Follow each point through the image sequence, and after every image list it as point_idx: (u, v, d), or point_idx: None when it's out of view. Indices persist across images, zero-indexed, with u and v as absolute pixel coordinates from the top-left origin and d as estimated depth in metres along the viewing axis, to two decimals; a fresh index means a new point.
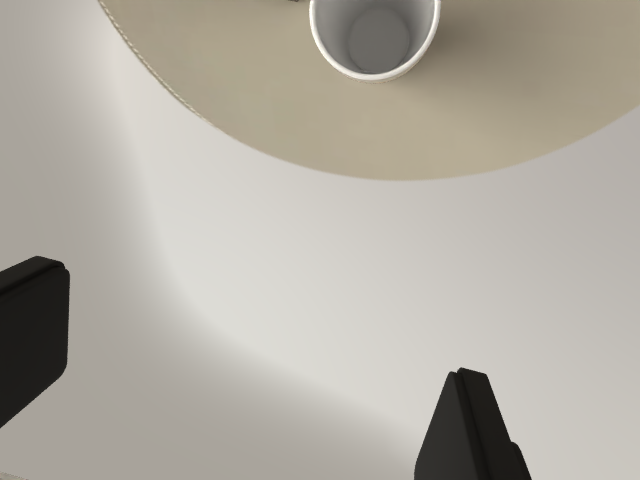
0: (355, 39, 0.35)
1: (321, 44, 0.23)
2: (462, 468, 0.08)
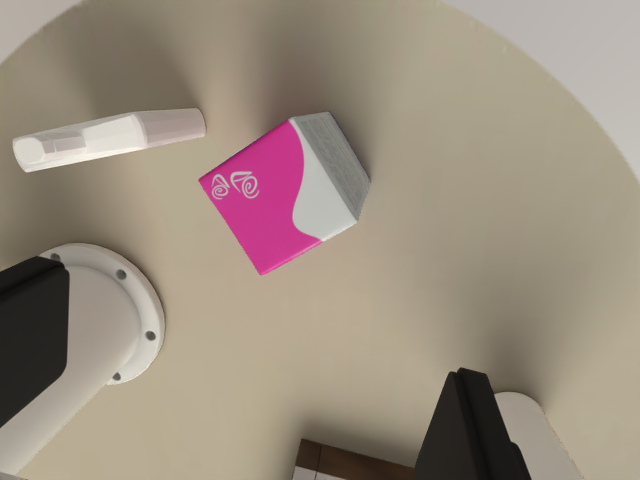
0: None
1: None
2: (462, 468, 0.08)
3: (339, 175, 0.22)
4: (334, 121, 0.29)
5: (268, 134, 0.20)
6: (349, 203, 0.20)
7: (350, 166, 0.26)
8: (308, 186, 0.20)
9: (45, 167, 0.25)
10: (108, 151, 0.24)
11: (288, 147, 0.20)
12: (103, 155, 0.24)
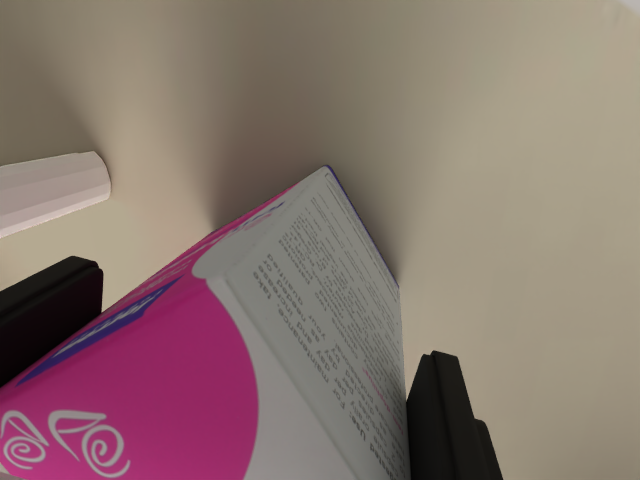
0: None
1: None
2: (427, 441, 0.08)
3: (359, 389, 0.08)
4: (337, 185, 0.16)
5: (148, 319, 0.06)
6: None
7: (372, 299, 0.12)
8: (273, 465, 0.07)
9: None
10: None
11: (209, 360, 0.06)
12: None
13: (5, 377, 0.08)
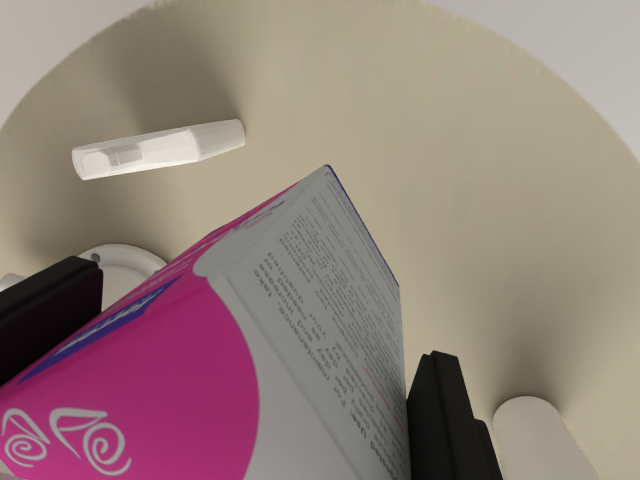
0: None
1: None
2: (427, 441, 0.08)
3: (359, 388, 0.08)
4: (337, 184, 0.16)
5: (149, 317, 0.06)
6: None
7: (372, 298, 0.12)
8: (273, 463, 0.07)
9: (102, 176, 0.27)
10: (163, 163, 0.25)
11: (210, 357, 0.06)
12: (158, 166, 0.26)
13: (5, 377, 0.08)
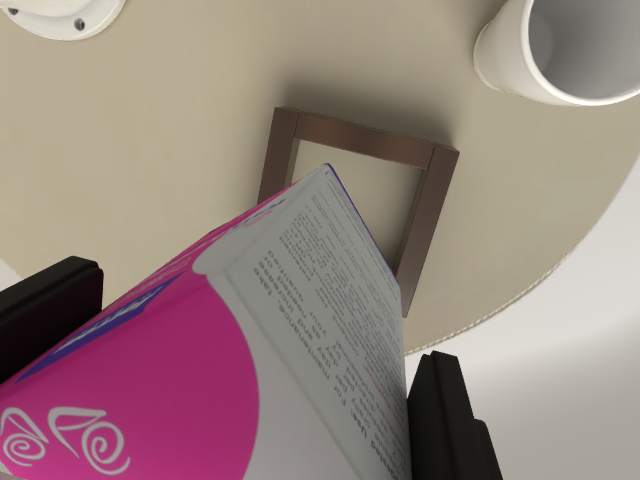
0: None
1: (635, 89, 0.18)
2: (427, 441, 0.08)
3: (360, 387, 0.08)
4: (337, 183, 0.16)
5: (148, 315, 0.06)
6: None
7: (373, 297, 0.12)
8: (273, 462, 0.07)
9: None
10: None
11: (209, 356, 0.06)
12: None
13: (5, 377, 0.08)
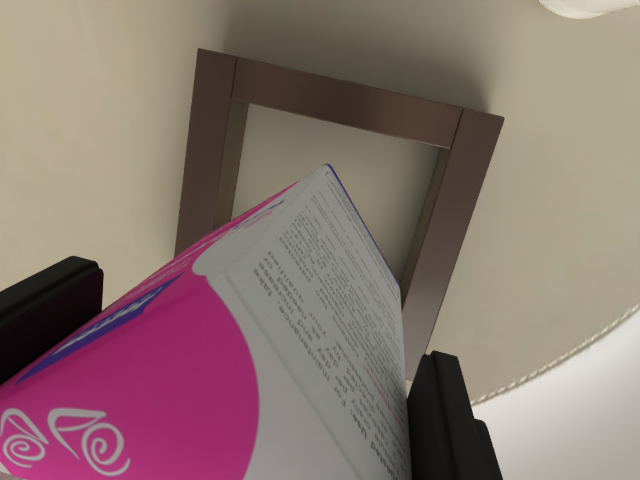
0: None
1: None
2: (427, 441, 0.08)
3: (360, 387, 0.08)
4: (337, 184, 0.16)
5: (148, 316, 0.06)
6: None
7: (373, 297, 0.12)
8: (274, 463, 0.07)
9: None
10: None
11: (209, 357, 0.06)
12: None
13: (5, 377, 0.08)
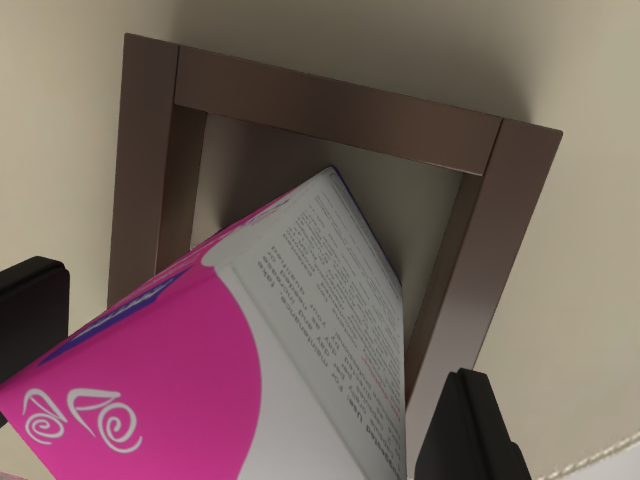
0: None
1: None
2: (462, 468, 0.08)
3: (357, 376, 0.09)
4: (341, 185, 0.16)
5: (160, 303, 0.07)
6: None
7: (373, 294, 0.13)
8: (274, 442, 0.07)
9: None
10: None
11: (216, 342, 0.07)
12: None
13: None
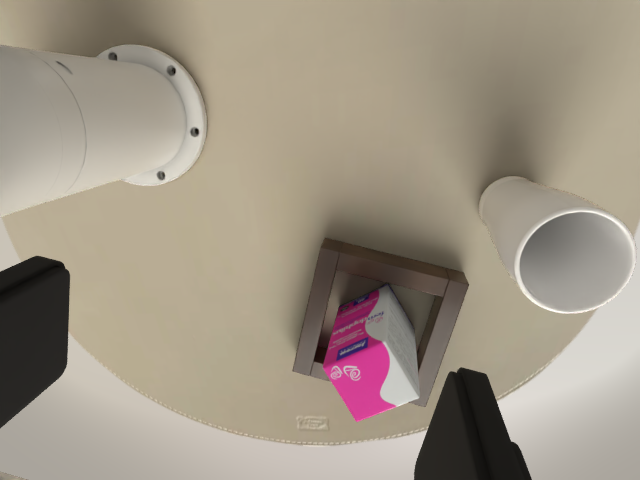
0: None
1: (594, 306, 0.27)
2: (462, 468, 0.08)
3: (407, 363, 0.36)
4: (392, 292, 0.43)
5: (369, 347, 0.34)
6: (415, 387, 0.34)
7: (407, 338, 0.40)
8: (391, 377, 0.34)
9: None
10: None
11: (380, 355, 0.34)
12: None
13: None
